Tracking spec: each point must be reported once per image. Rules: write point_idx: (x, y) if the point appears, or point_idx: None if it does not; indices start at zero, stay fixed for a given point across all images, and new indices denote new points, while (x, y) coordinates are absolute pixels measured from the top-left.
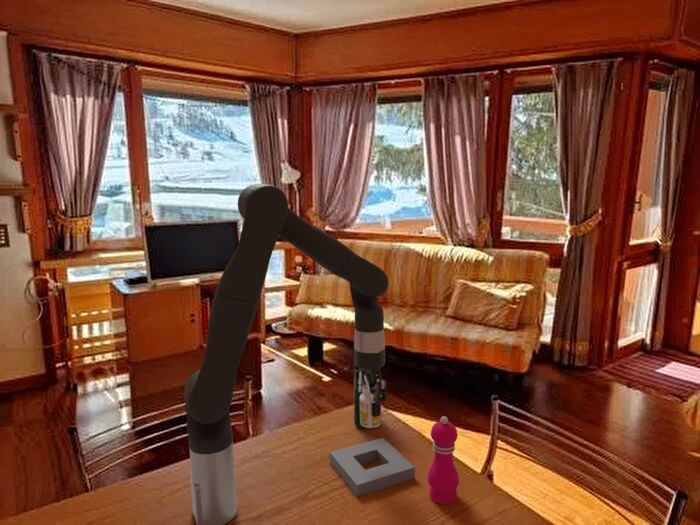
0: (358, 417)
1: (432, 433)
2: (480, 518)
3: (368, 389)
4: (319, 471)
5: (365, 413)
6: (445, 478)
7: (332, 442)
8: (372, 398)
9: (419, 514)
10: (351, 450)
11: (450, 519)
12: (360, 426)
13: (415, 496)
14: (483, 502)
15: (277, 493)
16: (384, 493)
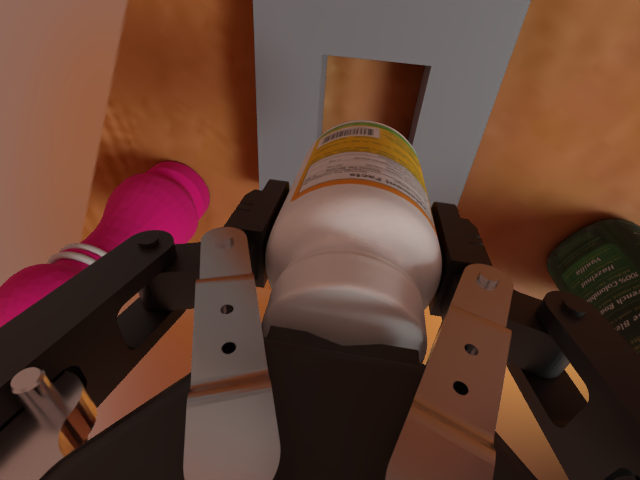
0: (623, 241)
1: (36, 283)
2: (91, 200)
3: (226, 301)
4: None
5: (318, 158)
6: (105, 207)
7: (627, 83)
8: (215, 252)
9: (130, 96)
10: (468, 86)
11: (98, 148)
12: (594, 224)
13: (200, 136)
14: None
15: None
16: (244, 67)
